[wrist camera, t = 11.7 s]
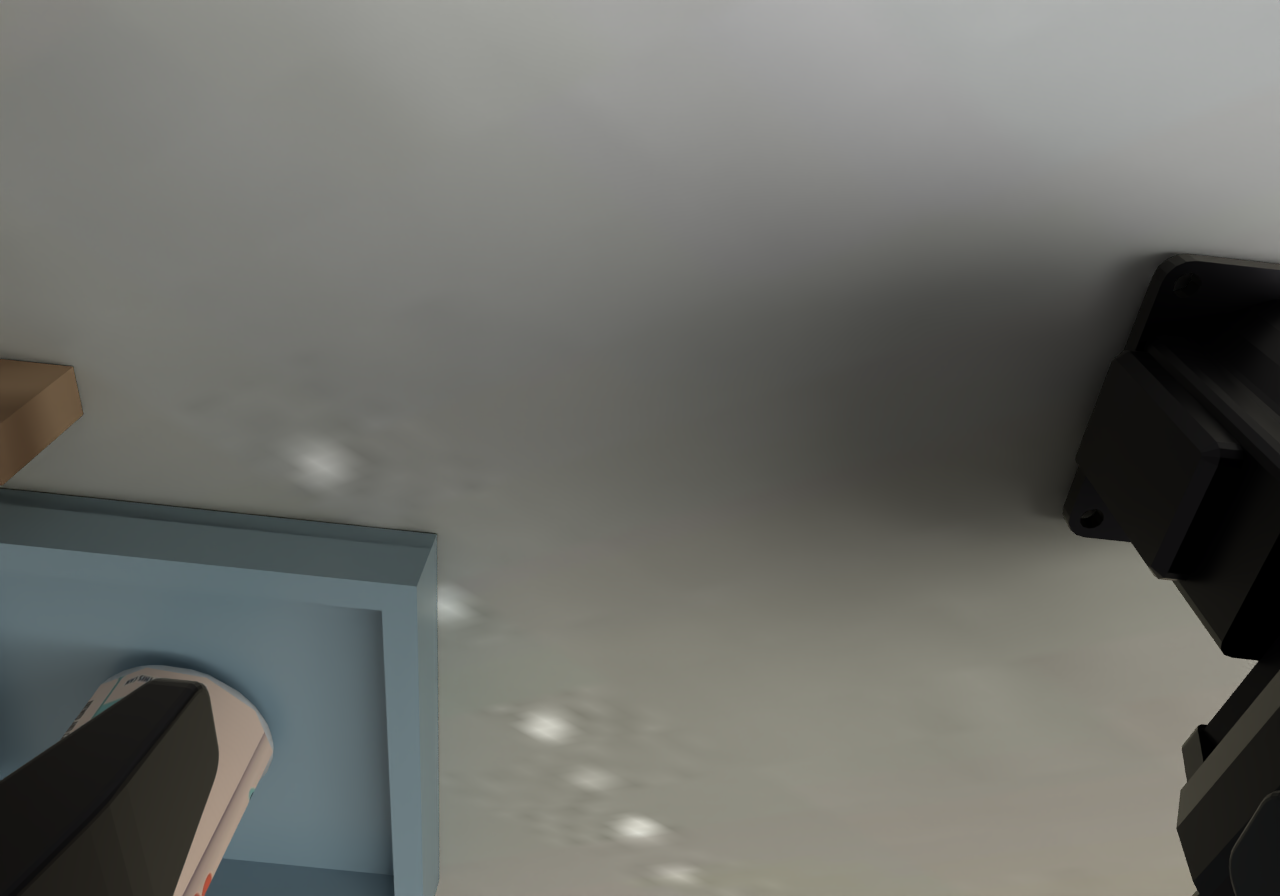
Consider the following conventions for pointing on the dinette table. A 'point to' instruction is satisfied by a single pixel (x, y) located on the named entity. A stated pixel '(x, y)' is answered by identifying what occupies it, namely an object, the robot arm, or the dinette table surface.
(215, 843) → the beer can
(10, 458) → the frame
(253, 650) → the tray
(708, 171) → the dinette table surface
